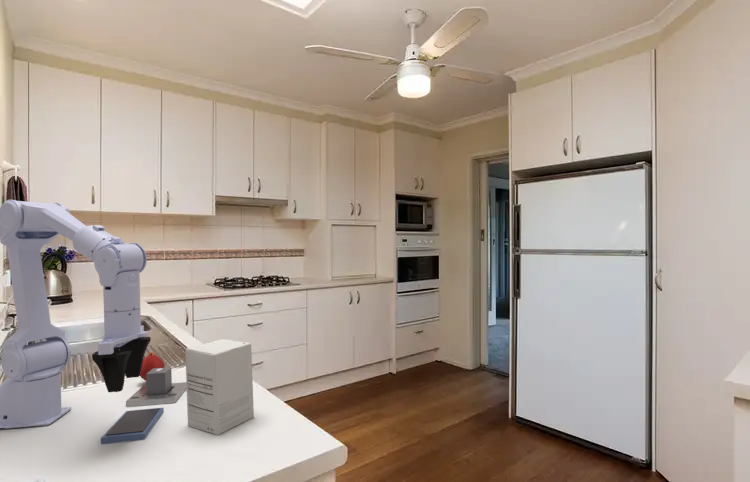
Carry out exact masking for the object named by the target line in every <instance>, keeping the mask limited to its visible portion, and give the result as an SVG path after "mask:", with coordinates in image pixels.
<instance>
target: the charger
mask: <svg viewBox="0 0 750 482" xmlns="http://www.w3.org/2000/svg"><path fill="white" fill-rule="evenodd" d="M172 375H173V374H172V367H165V368H153V369H152V370H151V371H149V372H148V373H147V374H146V381H145V382H146V385H147V396H154V395H167V394H168V393H169V392H170V391H171V390H172V383H173V380H172Z"/></svg>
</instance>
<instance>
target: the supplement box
mask: <svg viewBox="0 0 750 482" xmlns="http://www.w3.org/2000/svg"><path fill="white" fill-rule="evenodd" d="M184 350H185V351H184V352H185V374H186V375H185V378H186V381H185V382H186V383H187V389H186V408H187V426H188V427H191V428H195V429H197V430H201V431H204V432H207V433H209V434H213V435H217V436H219V435H221V434H222V433H224V432H227V431H229V430H231V429H232V428H235V427H236V426H238V425H240V424H243V423H244V422H246V421H249V420H251V419H252V418H254V417H255V415H254V414H255V413H254V411H255V410H254V409H255V408H254V387H253V386H254V383H253V381H254V380H253V359H252V358H253V356H252V353H253V352H252V343H251V342H245V341H238V340H233V339H227V338H221V339H217V340H215V341H210V342H206V343H203V344H200V345H196V346H192V347H187V348H185V349H184Z"/></svg>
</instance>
